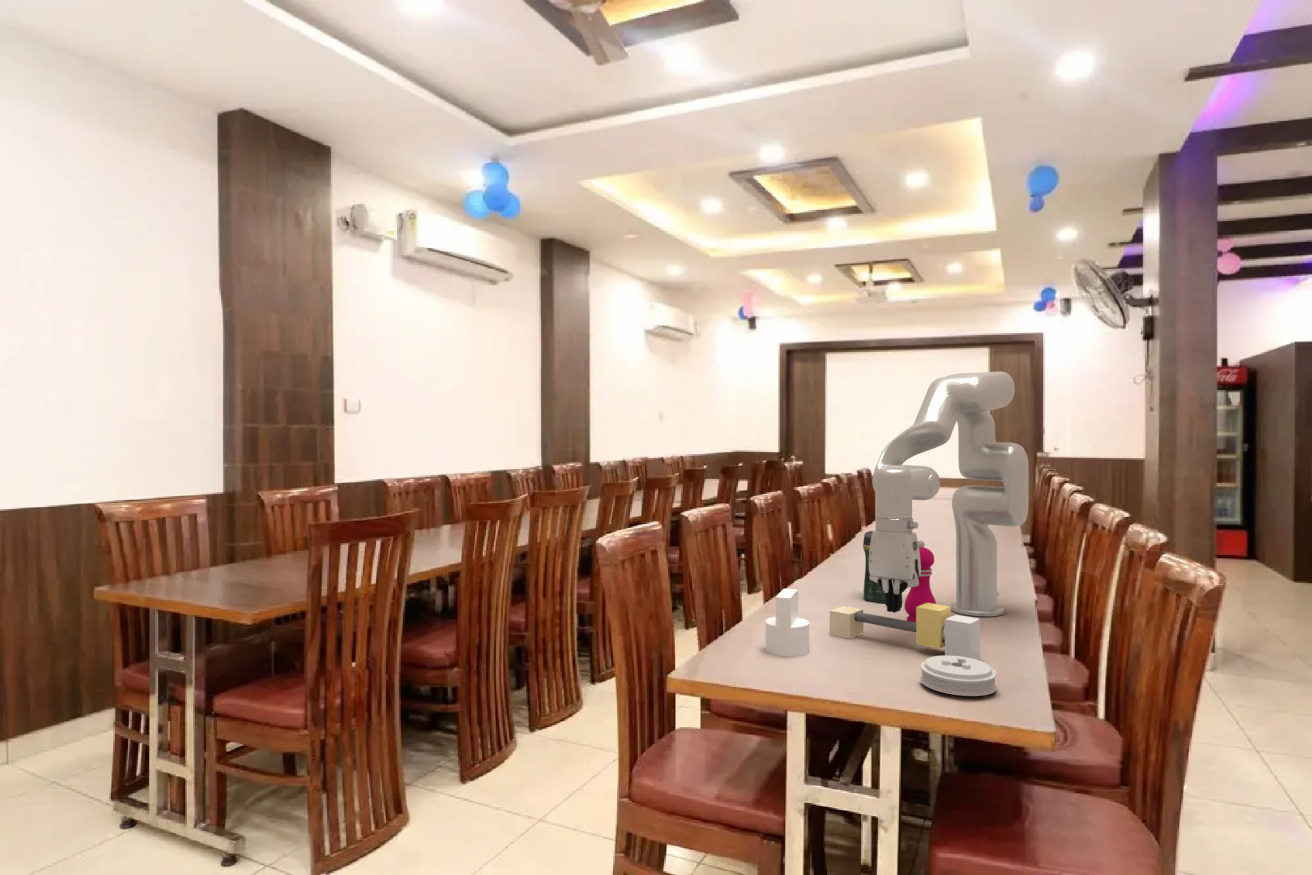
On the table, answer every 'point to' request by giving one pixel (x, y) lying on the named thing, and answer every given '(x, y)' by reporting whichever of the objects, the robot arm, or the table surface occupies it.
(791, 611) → the base with upright slab
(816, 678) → the table surface
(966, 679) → the lid
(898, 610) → the robot arm
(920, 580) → the pepper mill
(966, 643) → the slider rail
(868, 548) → the coffee jar
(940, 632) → the pale yellow upright block
